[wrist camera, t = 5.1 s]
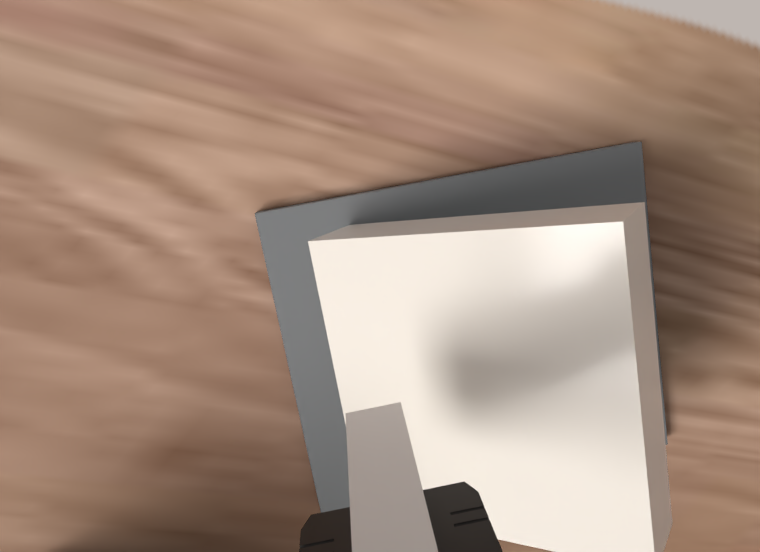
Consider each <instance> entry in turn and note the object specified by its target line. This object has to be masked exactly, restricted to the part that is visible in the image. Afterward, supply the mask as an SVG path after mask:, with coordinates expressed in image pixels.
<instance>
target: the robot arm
mask: <svg viewBox="0 0 760 552" xmlns="http://www.w3.org/2000/svg"><path fill="white" fill-rule="evenodd" d="M346 434H347V455H348V477H349V499H350V507H347V508H342V509H337V510H332V511H328V512H323V513H318V514H313V515H311V516H310V517H309V519H308V520H307V522H306V523H305V525H304V526H303V528H302V529H301V536H300V549H299V552H502V549H501V547H500V544H499V542H498V539H497V537H496V534H495V532H494V529H493V527H492V524H491V522H490V520H489V517H488V514H487V512H486V509H485V508H484V505H483V502H482V500H481V497H480V495H479V492H478V491H477V490H475V489H474V488H473V487H471V486H470V485H469V484H467V483H466V482H465V481H464V482H459V483H454V484H449V485H445V486H440V487H435V488H430V489H425V490H423V489H422V485H421V481H420V477H419V473H418V469H417V465H416V461H415V457H414V453H413V449H412V445H411V441H410V437H409V433H408V429H407V425H406V421H405V417H404V413H403V409H402V405H401V402H398V403H393V404H388V405H383V406H379V407H374V408H369V409H364V410H359V411H354V412H349V413H346Z"/></svg>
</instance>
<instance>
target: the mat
mask: <svg viewBox="0 0 760 552" xmlns="http://www.w3.org/2000/svg"><path fill="white" fill-rule="evenodd" d="M639 202H645V213H646V225H647V236H648V248H649V259H650V271H651V282H652V294H653V305H654V317H655V328H656V340H657V351H658V363H659V374H660V386H661V397H662V409H663V420H664V432H665V444H666V445H667V444H668V443H667V432H666V420H665V409H664V397H663V385H662V374H661V362H660V351H659V339H658V327H657V316H656V304H655V292H654V281H653V269H652V258H651V246H650V234H649V223H648V211H647V199H646V188H645V176H644V165H643V153H642V142H631V143H625V144H620V145H614V146H609V147H604V148H598V149H593V150H588V151H582V152H577V153H571V154H566V155H561V156H555V157H550V158H544V159H539V160H534V161H528V162H523V163H518V164H512V165H507V166H501V167H496V168H491V169H485V170H480V171H474V172H469V173H464V174H458V175H453V176H448V177H442V178H437V179H431V180H426V181H421V182H415V183H410V184H405V185H399V186H394V187H388V188H383V189H378V190H372V191H367V192H361V193H356V194H351V195H345V196H340V197H335V198H329V199H324V200H318V201H313V202H308V203H302V204H297V205H291V206H286V207H281V208H275V209H270V210H265V211H259V212H256V213H255V217H256V222H257V226H258V231H259V235H260V240H261V244H262V249H263V253H264V258H265V262H266V267H267V271H268V276H269V280H270V285H271V289H272V294H273V298H274V303H275V307H276V312H277V316H278V321H279V325H280V330H281V334H282V339H283V343H284V348H285V352H286V357H287V361H288V366H289V370H290V375H291V379H292V384H293V388H294V393H295V397H296V402H297V406H298V411H299V415H300V420H301V424H302V429H303V434H304V438H305V443H306V447H307V452H308V456H309V461H310V465H311V470H312V474H313V479H314V483H315V488H316V492H317V497H318V501H319V506H320V510H321V513H323V512H328V511H332V510H337V509H342V508H347V507H350V499H349V477H348V455H347V434H346V424H345V420H344V415H343V410H342V405H341V400H340V395H339V390H338V386H337V381H336V376H335V371H334V366H333V361H332V356H331V351H330V347H329V342H328V337H327V332H326V327H325V322H324V317H323V312H322V308H321V303H320V298H319V293H318V288H317V283H316V278H315V273H314V269H313V264H312V259H311V254H310V249H309V244H308V241H310V240H312V239H315V238H317V237H320V236H322V235H325V234H328V233H330V232H333V231H335V230H338V229H340V228H343V227H345V226H348V225H354V224H367V223H380V222H393V221H406V220H419V219H432V218H445V217H458V216H471V215H484V214H497V213H510V212H523V211H536V210H549V209H562V208H575V207H588V206H601V205H614V204H626V203H639Z"/></svg>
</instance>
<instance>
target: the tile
mask: <svg viewBox="0 0 760 552" xmlns="http://www.w3.org/2000/svg"><path fill="white" fill-rule="evenodd" d="M308 244H309V249H310V254H311V259H312V264H313V269H314V273H315V278H316V283H317V288H318V293H319V298H320V303H321V308H322V312H323V317H324V322H325V327H326V332H327V337H328V342H329V347H330V351H331V356H332V361H333V366H334V371H335V376H336V381H337V386H338V390H339V395H340V400H341V405H342V410H343V415H344V420H345V424H346V413H349V412H354V411H359V410H364V409H369V408H374V407H379V406H383V405H388V404H393V403H398V402H401V405H402V409H403V413H404V417H405V421H406V425H407V429H408V433H409V437H410V441H411V445H412V449H413V453H414V457H415V461H416V465H417V469H418V473H419V477H420V481H421V485H422V489H423V490H425V489H430V488H435V487H440V486H445V485H449V484H454V483H459V482H464V481H465V482H466V483H467V484H469V485H470V486H471V487H473V488H474V489H475V490H477V491H478V492H479V495H480V497H481V500H482V502H483V505H484V508H485V509H486V512H487V514H488V517H489V520H490V522H491V524H492V527H493V529H494V532H495V534H496V537H497V539H499V540H504V541H508V542H513V543H517V544H522V545H527V546H531V547H536V548H540V549H545V550H550V551H554V552H664V549H665V545H666V542H667V539H668V536H669V533H670V530H671V527H672V513H671V501H670V490H669V478H668V467H667V455H666V444H665V432H664V420H663V409H662V397H661V386H660V374H659V363H658V351H657V340H656V328H655V317H654V305H653V294H652V282H651V271H650V259H649V248H648V236H647V225H646V213H645V202H639V203H626V204H614V205H601V206H588V207H575V208H562V209H549V210H536V211H523V212H510V213H497V214H484V215H471V216H458V217H445V218H432V219H419V220H406V221H393V222H380V223H367V224H354V225H348V226H345V227H343V228H340V229H338V230H335V231H333V232H330V233H328V234H325V235H322V236H320V237H317V238H315V239H312V240H310V241H308Z"/></svg>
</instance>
